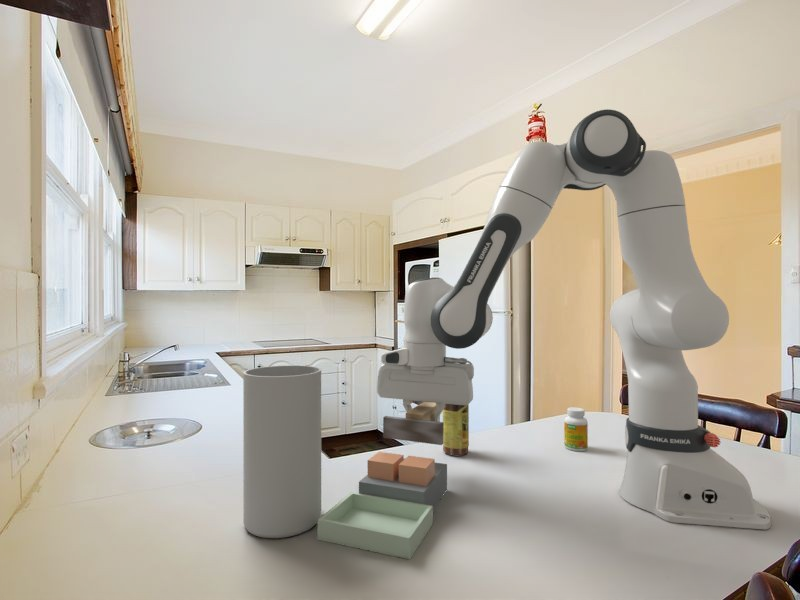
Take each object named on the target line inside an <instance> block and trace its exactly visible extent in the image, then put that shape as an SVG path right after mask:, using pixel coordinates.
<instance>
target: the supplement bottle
mask: <svg viewBox="0 0 800 600" xmlns="http://www.w3.org/2000/svg"><path fill="white" fill-rule="evenodd" d="M566 411H567V413H566V414H567V416H566V417H565V418H564V421H563V422H564V424H563V425H564V431H563V432H564V437H563V440H564V448H565V449H567V450H569V451H573V452H586V451H587V450H588V449H589V448H588V445H589V443H588V440H589V439H588V438H589V437H588V434H589V432H588V430H589V428H588V427H589V425H588V422H589V421H588V419H587V418H586V417H585V415H586V412H585V411H586V410H585V409H584V408H582V407H574V406H571V407H567V410H566Z"/></svg>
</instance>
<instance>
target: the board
mask: <svg viewBox="0 0 800 600" xmlns="http://www.w3.org/2000/svg"><path fill="white" fill-rule="evenodd" d="M405 458H406V457H405ZM405 458H404V459H405ZM446 490H447V491H448V464H447V463H441V462H435V476H434V477H433V478H432V479H431V481H430V482H429V483H428V484H427V485H426V486H422V485H416V484H409V483H403V482H399V476H398V477H397V478H396V479H395V480H394V481H390V480H383V479H377V478H370V477H368V474H366V475H365V476H364V477H363V478H362V479H360V480H359V481H358V493H360V494H366V495H372V496H378V497H384V498H390V499H396V500H401V501H407V502H413V503H419V504H425V505H431V506H433V510H434V509H435V508H436V506H437V505H438V504H437V503H439V502H440V501H441V499H442V498H443V497H442V496H444V495H445V494H446V492H447V491H446ZM445 491H446V492H445ZM444 493H445V494H444ZM443 494H444V495H443ZM441 497H442V498H441ZM439 500H440V501H439ZM436 504H437V505H436ZM434 507H435V508H434Z"/></svg>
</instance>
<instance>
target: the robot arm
mask: <svg viewBox="0 0 800 600" xmlns="http://www.w3.org/2000/svg"><path fill="white" fill-rule="evenodd" d="M646 149H647V143H646V141H645V140H644V138H643V137H642V136H641V135H640V134H639V132H638V131H637V129H636V127H635V126H634V123H633V122H632V120H630V119H629V117H627V115H625V114H624V113H623V112H620V111H619V110H615V109H608V108H607V109H600V110H597V111H594V112H592V113H590V114H588V115H587V116H586V117H584V118H583V119H582V120H581V121H579V123H577V125H575V127H574V129H573V130H572V133H571V135H570V137H569V139H568V141H567V142H566V143H562V144H554V143H550V142H547V141H538V140H537V141H532V142H529V143H528V144H526V145H525V146H524V147H523V148H521V150H520V151H519V153H518V154H517V156H516V157H515V159H514V160H513V161H512V163H511V165H510V166H509V167H508V170H507V171H506V173H505V175H504V177H503V178H502V180H501V183H499V184H500V185H499V186H498V188H497V191H496V192H495V195H494V198H493V199H492V202H491V205H490V207H489V210H488V215H487V217H486V220H485V224H484V226H483V230H482V232H481V236H480V237H479V240H478V242H477V244H476V246H475V248H474V250H473V252H472V254H471V256H470V258H469V259H468V262H467V264H466V266H465V267H464V270H463V271H462V273H461V274H460V276H459V279H458V281H456V283H455V285H454V286H453V285H451V284H449V283H447V282H446V281H445V280H444V279H443V278H441V277H425V278H420V279H417V280H415V281H414V280H413V282H412V281H411V282H410V284H408V286H407V287H406V290H405V295H404V303H403V304H404V306H403V307H404V308H403V323H404V328H405V331H404V332H405V333H404V337H403V342H402V343H403V345H402V347H399V348H397V347H396V349H395V350H389V351H387V352H385V353H383V354H381V357H380V360H381V363H382V365H380V367H379V370H378V373H377V381H376V393H377V394H378V396H379V397H380V398H384V399H395V400H402V406H403V408H404V409H405V411H406V413H407V412H408V411H410V410H411V409H413V408H412V405H411V404H413V401H415V402H422V403H423V402H434V403H436V408H439V409H438V410H437V412H436V414H432V415H431V421H436V422H441V414H443V409H444V408H445V404H454V405H468V404H470V403H472V401H473V400H474V389H473V388H474V387H473V381H472V380H473V379H474V375H475V372H474V371H475V367H474V365H473V363H472V362H471V361H469V360H468V359H467V358H463V357H461V358H459V357H448V356H446V355H447V347H449V348H451V349H456V350H457V349H466V348H469V347H471V346H474V345H475V344H476V343H477V342H479V340H480V339H482V337H484V336H485V335H486V334H487V333H488V332H489V330H490V329H491V327H492V324H493V318H494V317H493V311H492V309H491V308H492V307H490V305H489V304H488V301H489V298H490V296H491V294H492V292H493V290H494V288H495V287H496V285H497V283H498V280H499V279H500V277H501V275H502V273H503V271H504V269H505V267H506V265H507V263H508V262H509V260H510V259H511V258H512V256H513V255H514V254H515V253H516V252H517V251H518V250H519V249H521V248H522V247H523V246H525V245H528V243H530V242H532V240H534V238H535V237H536V236H537V234H538V233H539V232H540V231H541V229H542V227H543V225H544V224H545V222H546V220H547V219H548V217H549V216H550V214H551V212H552V209H553V208H554V205H555V204H556V201H557V199H558V197H559V195H560V194H561V192H562V190H563V189H568V190H577V191H592V190H593V191H595V190H597V189H600V188H602V187H603V188H604V187H605V186H608V188H609V189H610V190H611V192H612V195H613V196H614V199H615V202H616V216H617V224H618V225H617V226H618V234H619V243H620V244H619V245H620V251H621V252H620V253H621V254H620V255H621V258H622V260H623V262H624V263H625V264H626V265H627V266H628V268H629V269H630V271H631V273H632V275H633V277H634V279H635V282H636V285H637V288H635V289H633V290H630V291H628V292H626V293H624V294H623V295H621V296H619V297H618V298H617V299H615V300H614V302H613V303H612V305H611V308H610V310H609V321H610V324H611V326H612V328H613V329H614V331H615V332H616V334H617V338H618V340H619V344H620V348H621V351H622V356H623V360H624V363H625V364H624V365H625V368H626V374H627V375H626V376H627V384H628V387H627V389H628V390H627V392H628V393H627V394H628V397H627V398H628V417H627V418H626V419H625V421H626V422H625V427H624V428H625V429H624V430H625V432H624V433H625V435H624V436H625V437H624V438H625V447H626V449H627V453H626V462H625V468H624V472H623V473H624V474H623V478H622V481H621V485H620V488H619V490H618V492H619V493H618V494H619V495H620V496H621V497H622V499H623V500H625V502H627V503H629V504H631V505H633V506H635V507H637V508H640V509H643V510H644V511H647V512H650V513H652V514H654V515H655V516H657V517H659V518H660V519H663V520H664V521H665V522H670V523H678V524H691V525H701V526H702V525H703V526H716V527H729V528H740V529H743V528H744V529H751V530H752V529H753V530H754V529H755V530H768V529H769V528H771V525H772V519H771V515H770V514H769V511H768V510H767V508H765V506H764V505H762V504H761V503H760V502H759V500H758V501H757V500H756V499H755V498H753V492H752V490H751V487H750V484H749V481H748V480H747V478H746V476H745V475H744V474H743V473H742V472H741V471H740V470H739V469H738V468H736V466H734V465H733V464H731V463H730V462H729V461H728V460H726V459H725V458H724V457H722V456H721V454H719V453H717V452H716V451H715V450H713V449H712V448H718V447H719V446H721V438H719V437H718V436H717V435H716V434H715V433H713V432H711V431H710V430H708V429H706V428H705V427H703V426H701V425H699V389H698V388H699V386H698V382H697V380H696V377H695V376H694V375H693V374H692V373H691V371H690V369H689V367H688V365H687V363H686V360H685V358H684V355H683V351H692V350H698V349H699V350H700V349H704V348H709V347H712V346H713V345H715V344H717V343H718V342H720V341H721V339H723V338H724V336H725V335H726V333H727V331H728V328H729V324H730V315H729V309H728V308H727V306H726V304H725V302H724V301H723V300H722V298H721V297H720V296H718V295H717V294H716V293H715V292H714V291H712V290H711V288H710V287H709V285H708V284H707V282H706V281H705V279H704V277H703V275H702V272H701V270H700V269H699V267H698V265H697V262H696V259H695V257H694V256H695V255H694V254H693V250H692V246H691V245H692V244H691V240H690V233H689V225H688V216H687V207H686V200H685V194H684V189H683V184H682V180H681V176H680V173H679V169H678V166H677V164H676V161H675V160H674V159H675V158H673V156H671V154H669V153H668V152H665V151H663V150H662V151H661V150H655V149H654V150H653V149H651V150H646Z"/></svg>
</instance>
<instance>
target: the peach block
mask: <svg viewBox="0 0 800 600" xmlns="http://www.w3.org/2000/svg"><path fill="white" fill-rule="evenodd" d="M435 460H436V459H435V458H429V457H424V456H414V455H408V456H406V457H405V459H404V460H403V461H402V462H401V463H400V464H399V482H403V483H409V484H416V485H422V486H426V485H427V484H428V483H429V482H430V481H431V479H432V478H433V477H434V476H435V463H436V461H435Z"/></svg>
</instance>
